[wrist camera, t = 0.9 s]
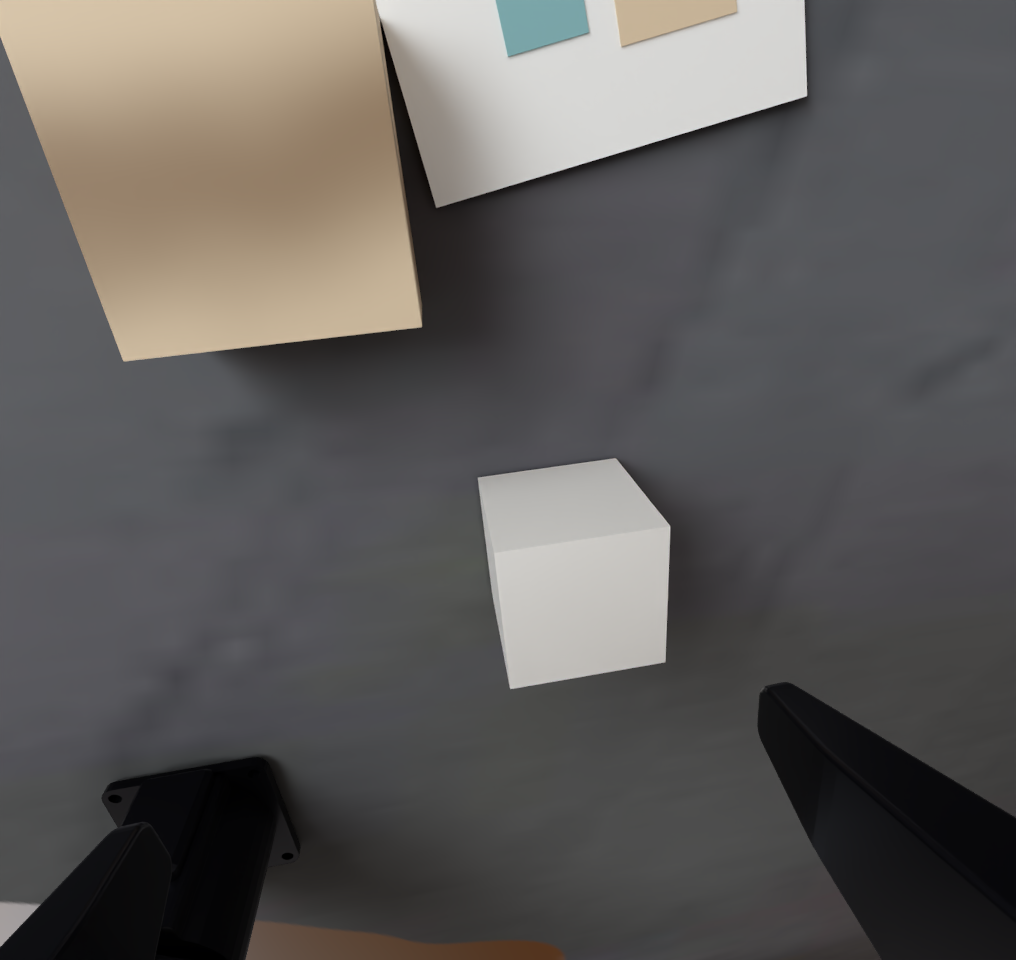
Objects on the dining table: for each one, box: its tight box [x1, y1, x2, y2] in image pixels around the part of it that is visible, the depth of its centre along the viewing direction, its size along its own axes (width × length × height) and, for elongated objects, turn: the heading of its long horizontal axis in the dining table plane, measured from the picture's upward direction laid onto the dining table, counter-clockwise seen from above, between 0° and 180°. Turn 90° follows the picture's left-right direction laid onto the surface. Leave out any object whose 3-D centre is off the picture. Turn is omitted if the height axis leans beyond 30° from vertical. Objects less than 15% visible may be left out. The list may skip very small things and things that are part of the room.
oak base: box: [0, 0, 422, 361], centre depth 14 cm, size 7×7×4 cm
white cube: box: [478, 458, 670, 689], centre depth 19 cm, size 5×5×5 cm
